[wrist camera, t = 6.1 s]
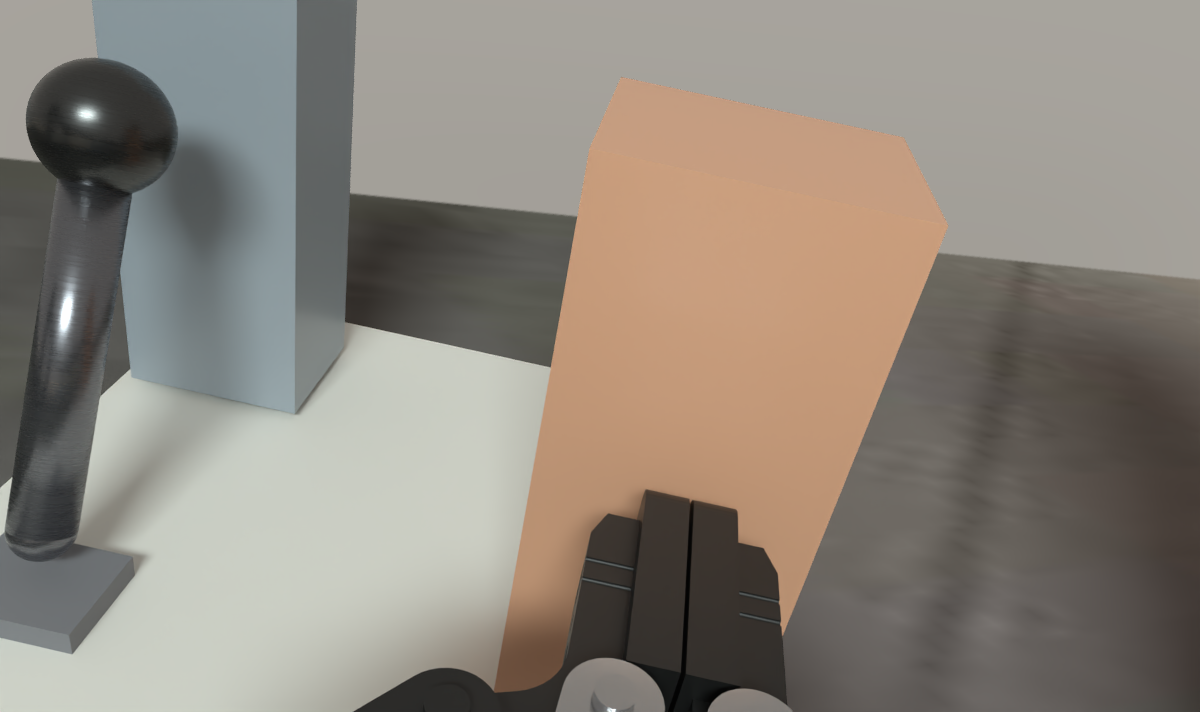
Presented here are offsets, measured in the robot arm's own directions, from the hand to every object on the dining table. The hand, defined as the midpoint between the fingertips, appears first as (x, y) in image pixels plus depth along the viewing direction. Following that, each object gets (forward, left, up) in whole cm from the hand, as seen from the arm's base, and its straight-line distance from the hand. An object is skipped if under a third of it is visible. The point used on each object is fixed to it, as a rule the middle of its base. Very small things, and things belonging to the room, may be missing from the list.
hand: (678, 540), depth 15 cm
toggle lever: (-13, -1, -7) cm, 15 cm away
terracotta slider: (-1, +3, -7) cm, 8 cm away
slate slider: (-16, +8, -7) cm, 19 cm away
